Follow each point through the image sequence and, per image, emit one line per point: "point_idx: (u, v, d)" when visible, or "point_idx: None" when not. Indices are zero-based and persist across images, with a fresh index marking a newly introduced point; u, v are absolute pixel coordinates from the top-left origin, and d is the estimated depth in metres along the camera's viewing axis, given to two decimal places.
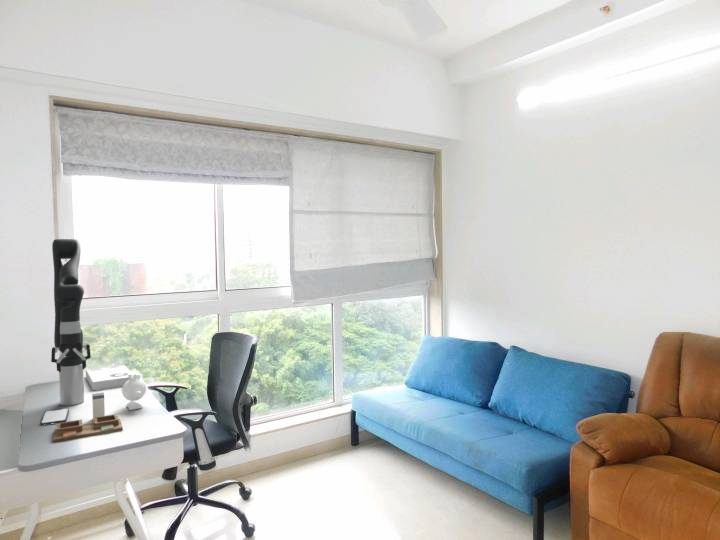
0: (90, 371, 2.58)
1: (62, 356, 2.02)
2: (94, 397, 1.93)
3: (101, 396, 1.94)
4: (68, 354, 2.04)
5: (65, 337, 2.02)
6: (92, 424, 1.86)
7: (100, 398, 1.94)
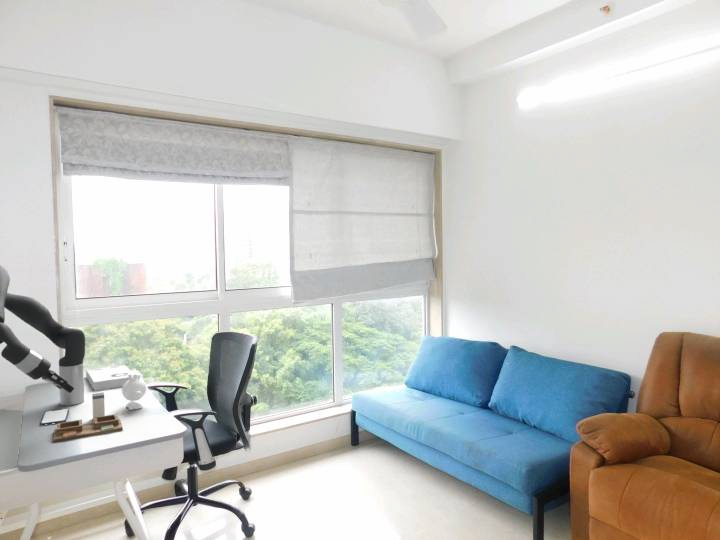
0: (90, 371, 2.58)
1: (60, 376, 1.81)
2: (94, 397, 1.93)
3: (101, 396, 1.94)
4: None
5: (45, 360, 1.78)
6: (92, 424, 1.86)
7: (100, 398, 1.94)
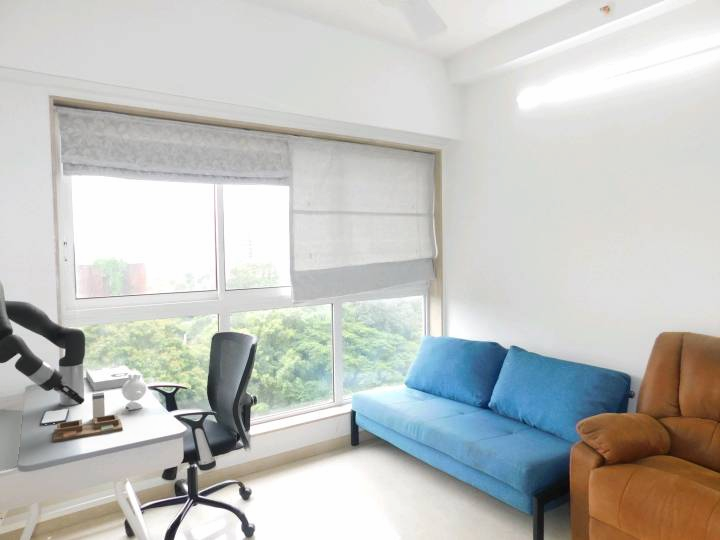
0: (91, 371, 2.58)
1: (71, 388, 1.85)
2: (94, 397, 1.93)
3: (101, 396, 1.94)
4: None
5: (57, 372, 1.82)
6: (92, 424, 1.86)
7: (100, 398, 1.94)
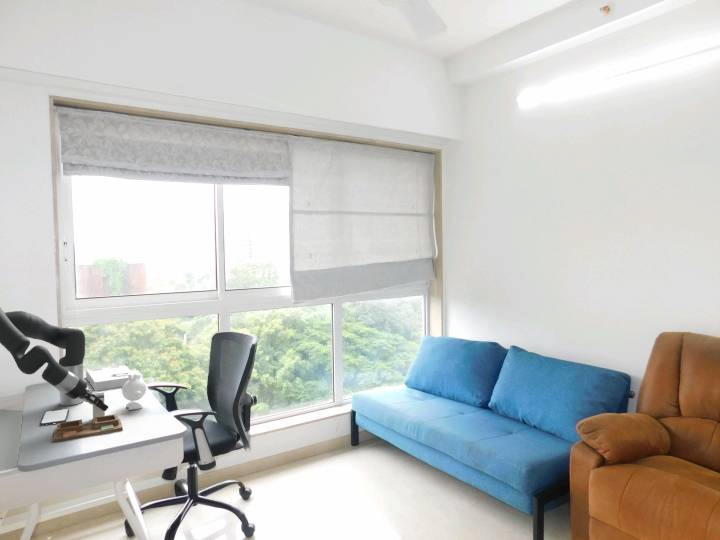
0: (91, 371, 2.57)
1: (96, 396, 1.92)
2: None
3: (101, 396, 1.94)
4: None
5: (81, 380, 1.88)
6: (92, 424, 1.86)
7: (100, 398, 1.94)
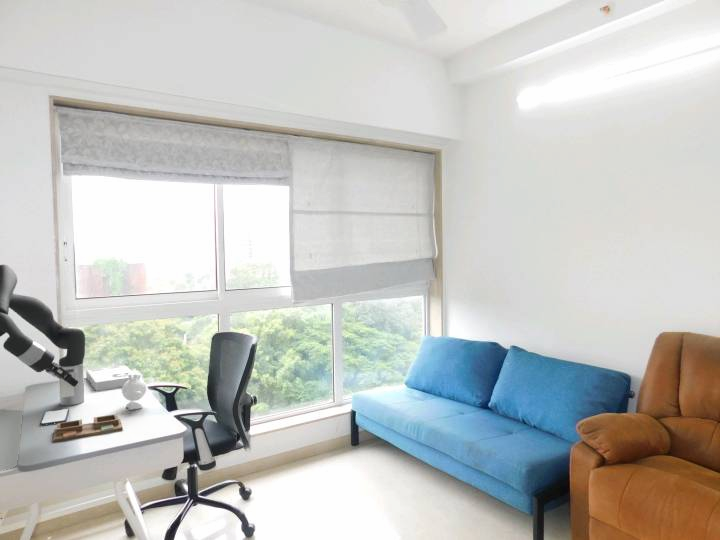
0: (91, 371, 2.57)
1: (64, 369, 1.77)
2: None
3: (70, 370, 1.79)
4: None
5: (48, 352, 1.73)
6: (92, 424, 1.86)
7: (69, 372, 1.79)
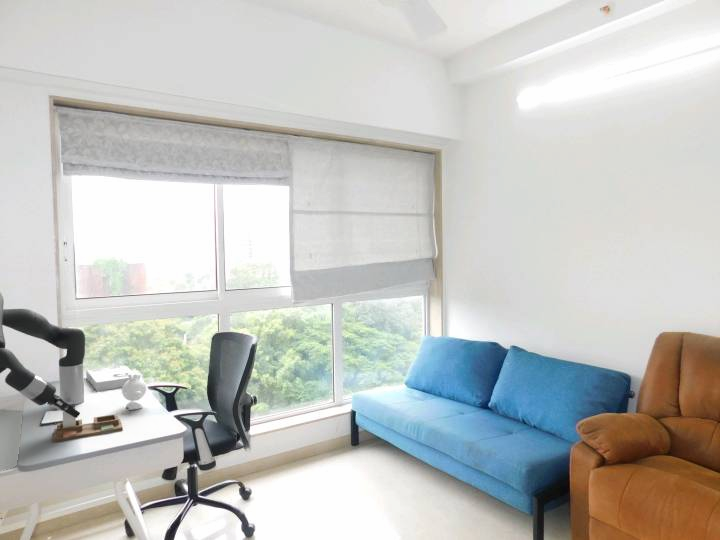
0: (91, 372, 2.57)
1: (66, 401, 1.77)
2: None
3: (72, 405, 1.79)
4: None
5: (50, 385, 1.74)
6: (92, 424, 1.86)
7: None
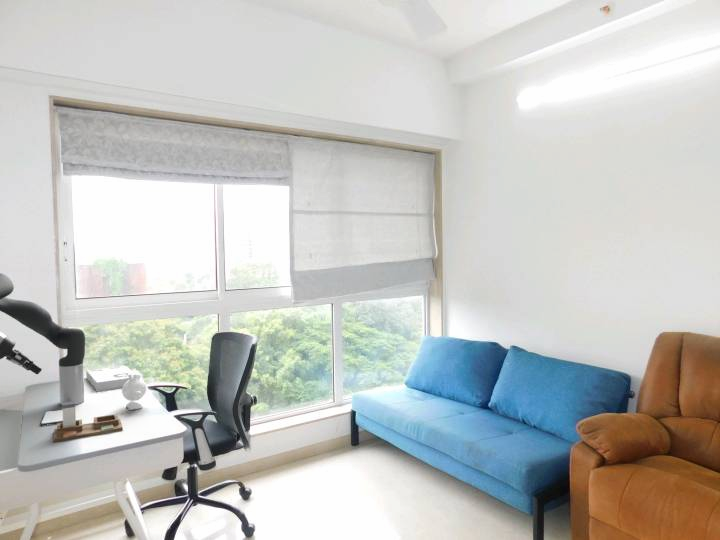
0: (91, 372, 2.56)
1: None
2: (64, 406, 1.78)
3: (72, 405, 1.79)
4: None
5: (8, 339, 1.64)
6: (92, 424, 1.86)
7: (71, 407, 1.79)
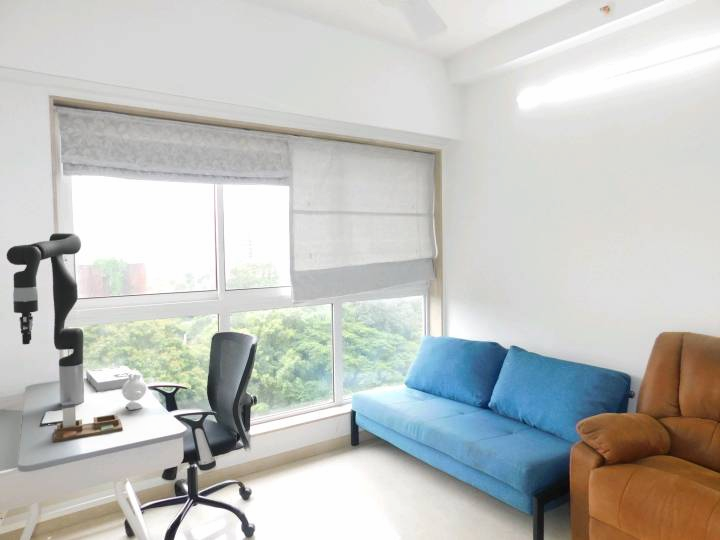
0: (91, 372, 2.56)
1: (31, 325, 1.81)
2: (64, 406, 1.78)
3: (72, 405, 1.79)
4: None
5: (35, 304, 1.83)
6: (92, 424, 1.86)
7: (71, 407, 1.79)
